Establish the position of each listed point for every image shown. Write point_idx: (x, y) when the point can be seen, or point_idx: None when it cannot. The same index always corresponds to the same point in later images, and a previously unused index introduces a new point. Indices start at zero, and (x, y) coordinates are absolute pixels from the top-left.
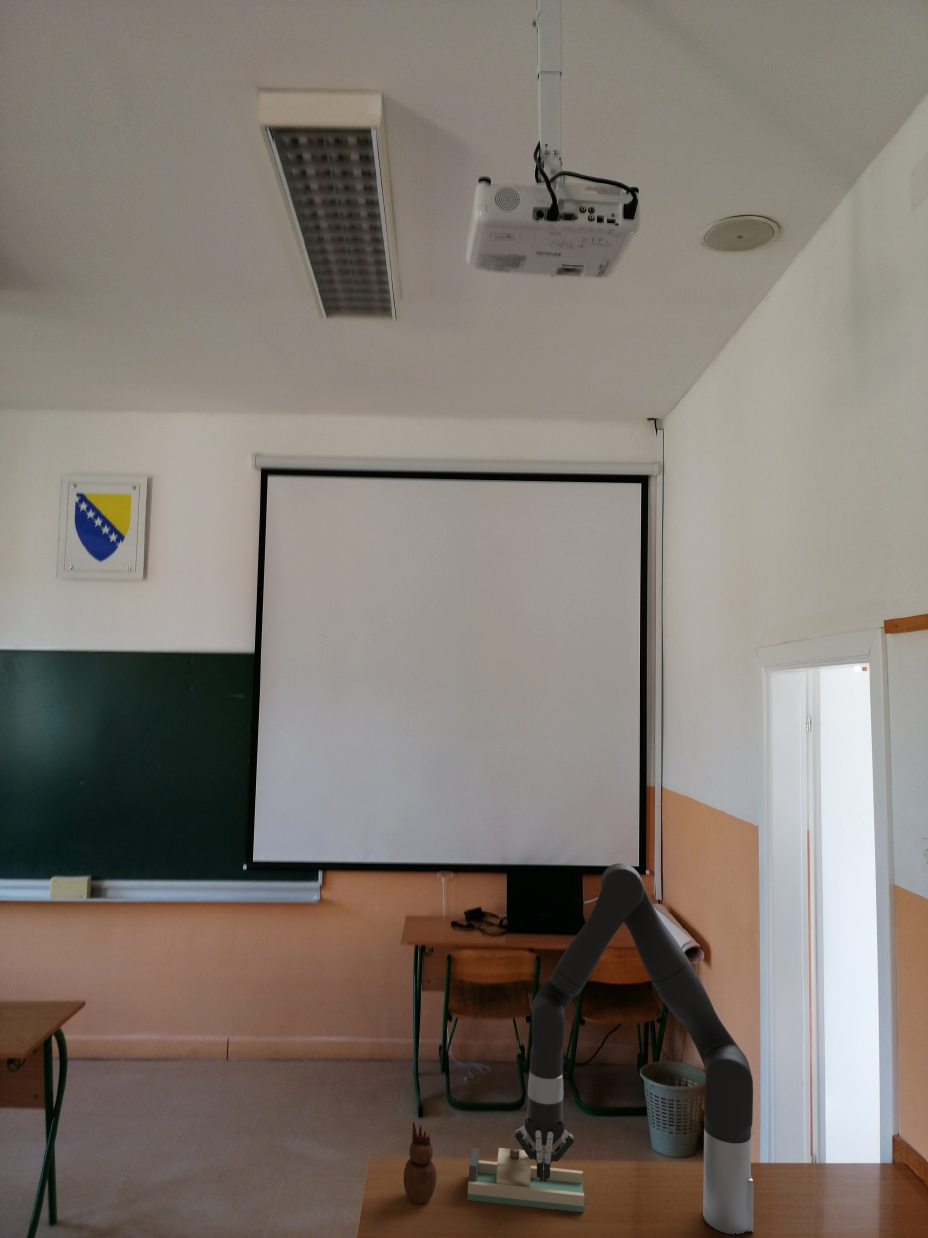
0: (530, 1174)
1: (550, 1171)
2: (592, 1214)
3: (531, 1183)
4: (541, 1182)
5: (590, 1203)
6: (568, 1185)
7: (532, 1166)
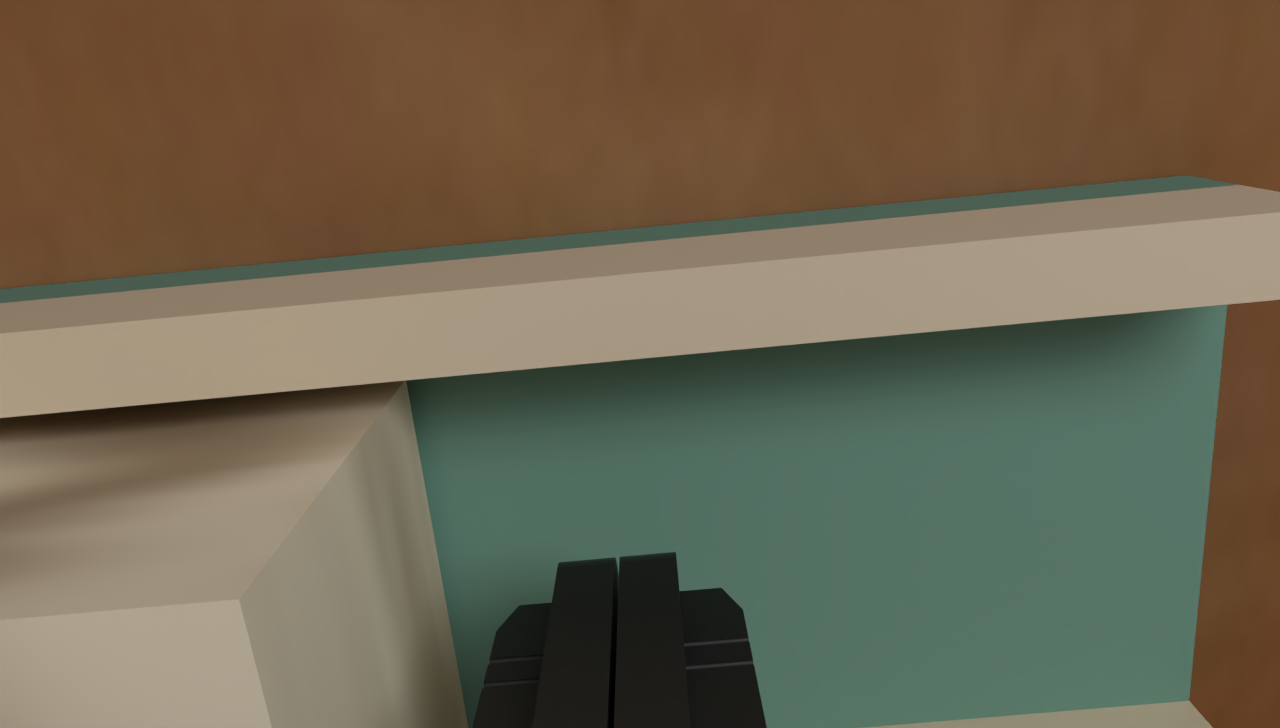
0: (395, 507)
1: (729, 349)
2: (1245, 700)
3: (446, 475)
4: (589, 413)
5: (1252, 510)
6: (1003, 370)
7: (380, 323)
